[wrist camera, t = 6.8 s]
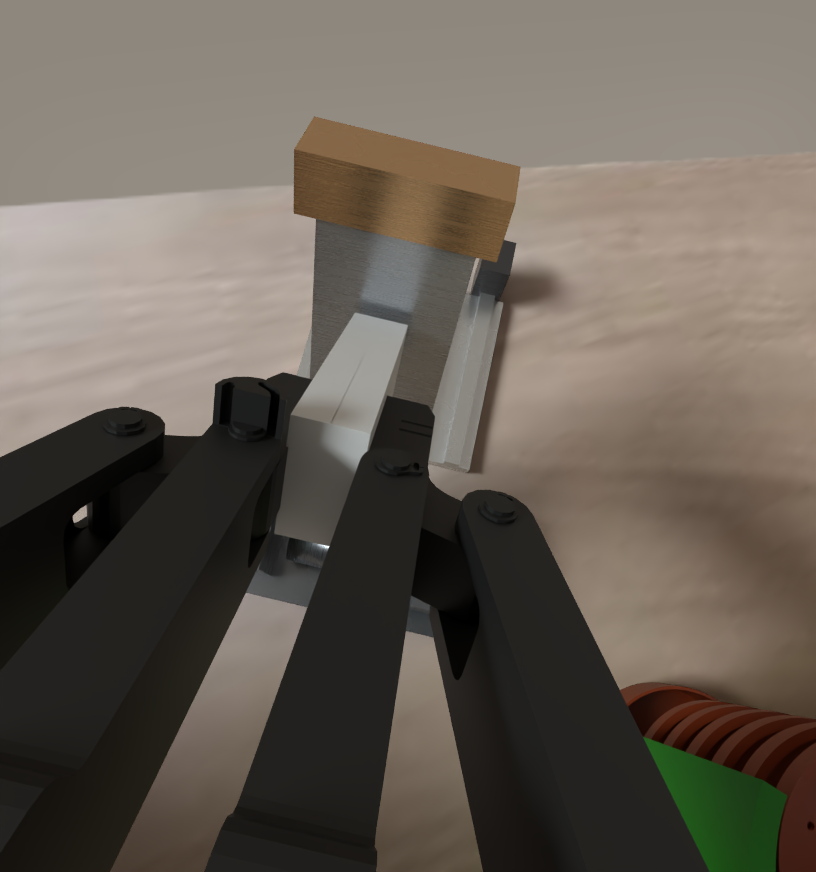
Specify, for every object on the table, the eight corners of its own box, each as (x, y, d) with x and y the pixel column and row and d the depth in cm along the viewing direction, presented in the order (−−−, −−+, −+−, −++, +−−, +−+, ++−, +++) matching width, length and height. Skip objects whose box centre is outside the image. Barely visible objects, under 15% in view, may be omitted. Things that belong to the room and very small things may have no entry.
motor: (741, 672, 31) (1332, 750, 12) (785, 878, 29) (1612, 1376, 10) (543, 691, 31) (852, 807, 11) (572, 906, 28) (1027, 1515, 9)
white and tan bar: (403, 549, 31) (526, 159, 15) (394, 594, 29) (518, 213, 14) (300, 525, 31) (314, 107, 15) (286, 568, 29) (284, 156, 14)
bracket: (515, 280, 37) (538, 229, 32) (443, 639, 31) (458, 642, 26) (332, 236, 37) (328, 178, 32) (224, 587, 31) (199, 580, 26)
